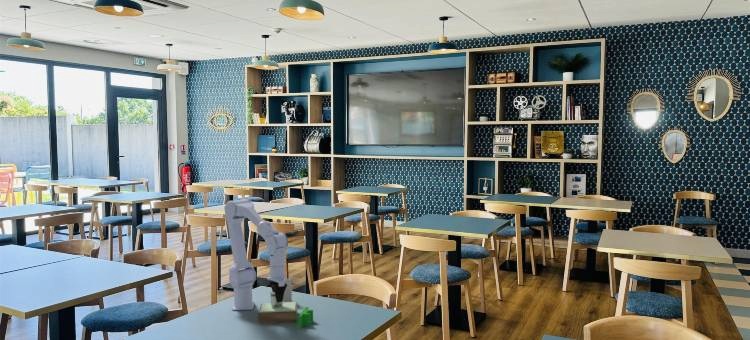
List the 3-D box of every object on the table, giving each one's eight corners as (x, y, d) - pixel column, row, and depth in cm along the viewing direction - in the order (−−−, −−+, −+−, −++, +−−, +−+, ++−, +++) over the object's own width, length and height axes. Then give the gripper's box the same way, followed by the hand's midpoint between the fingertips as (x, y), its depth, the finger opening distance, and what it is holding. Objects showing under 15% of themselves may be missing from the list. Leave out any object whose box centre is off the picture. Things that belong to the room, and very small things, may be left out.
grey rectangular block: (291, 303, 223) (291, 280, 223) (275, 304, 223) (274, 280, 222) (292, 301, 227) (291, 277, 226) (275, 301, 226) (275, 278, 226)
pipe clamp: (308, 329, 194) (307, 317, 194) (298, 329, 194) (297, 316, 194) (315, 318, 205) (314, 306, 205) (305, 318, 206) (305, 306, 205)
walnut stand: (261, 313, 211) (261, 302, 210) (297, 312, 212) (297, 301, 212) (258, 323, 200) (258, 312, 199) (296, 321, 201) (296, 310, 201)
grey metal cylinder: (270, 304, 207) (269, 291, 206) (281, 302, 208) (280, 289, 208) (272, 307, 202) (271, 294, 202) (284, 305, 204) (283, 292, 204)
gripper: (263, 262, 210) (264, 296, 211) (270, 270, 196) (271, 306, 197) (281, 260, 212) (282, 294, 213) (289, 268, 199) (290, 304, 200)
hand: (278, 300), depth 205 cm, fingers closed on grey metal cylinder, 4 cm apart
